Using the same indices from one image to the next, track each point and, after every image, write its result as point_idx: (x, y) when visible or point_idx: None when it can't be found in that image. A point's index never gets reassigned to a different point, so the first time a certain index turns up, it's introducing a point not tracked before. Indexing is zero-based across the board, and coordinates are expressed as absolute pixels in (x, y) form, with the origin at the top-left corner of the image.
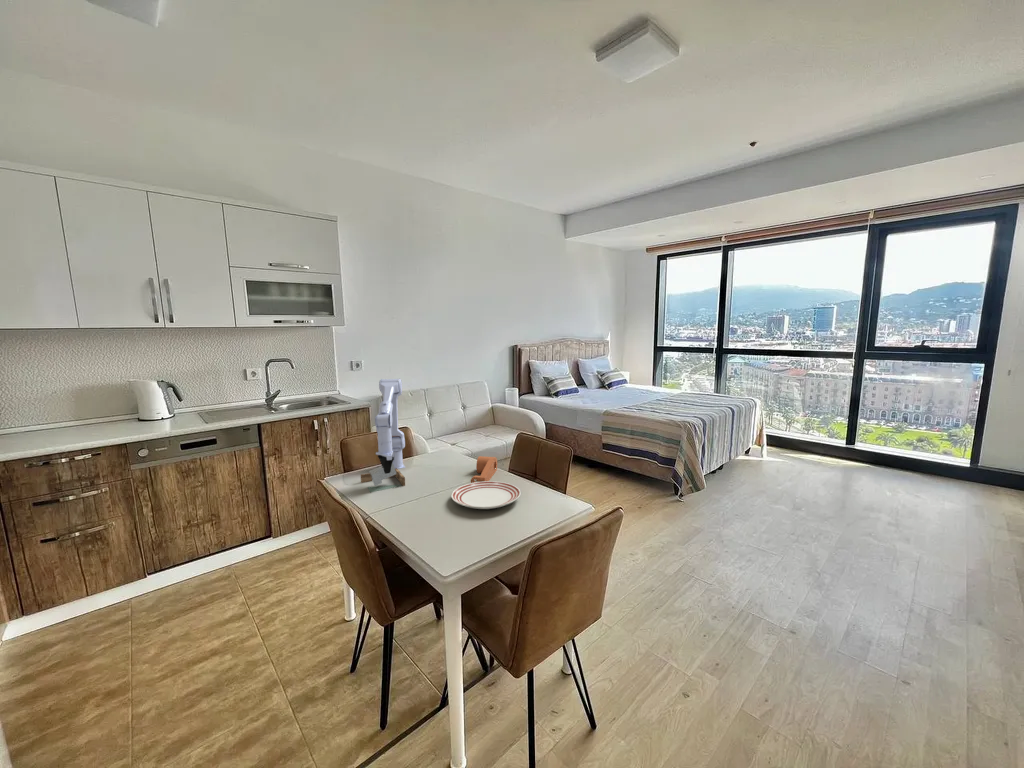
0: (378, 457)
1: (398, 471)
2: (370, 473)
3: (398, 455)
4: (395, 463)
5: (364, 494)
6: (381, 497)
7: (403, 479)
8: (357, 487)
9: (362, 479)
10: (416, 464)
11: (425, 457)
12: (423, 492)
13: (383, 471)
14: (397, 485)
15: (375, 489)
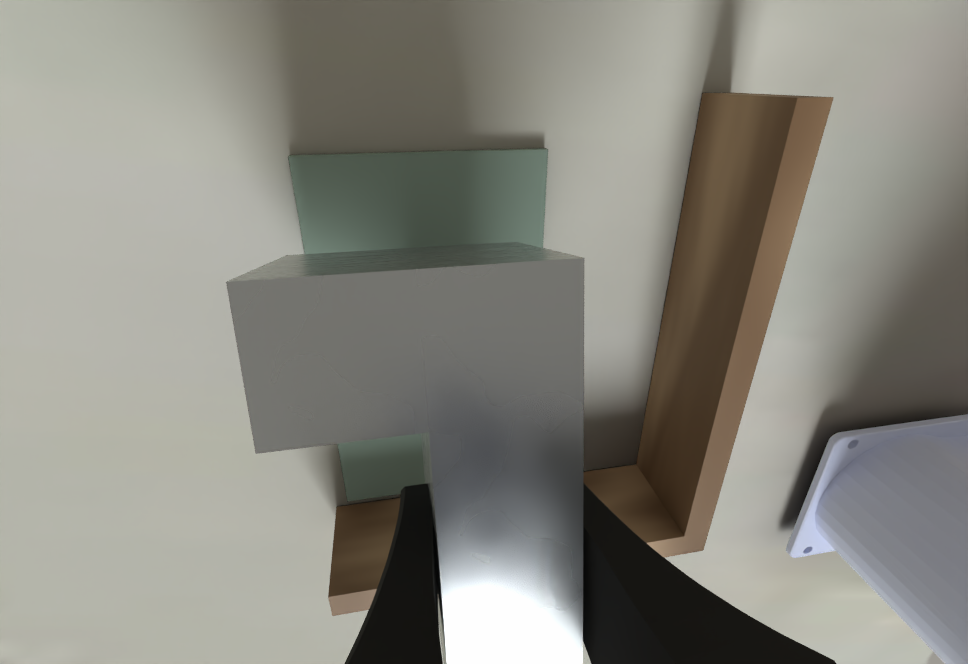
0: (800, 651)
1: None
2: (388, 270)
3: (937, 639)
4: (868, 533)
5: (257, 58)
6: (41, 273)
7: (332, 582)
8: (612, 8)
9: (740, 116)
10: (807, 605)
11: (885, 650)
12: (89, 642)
13: (430, 492)
14: (380, 470)
15: (367, 239)
